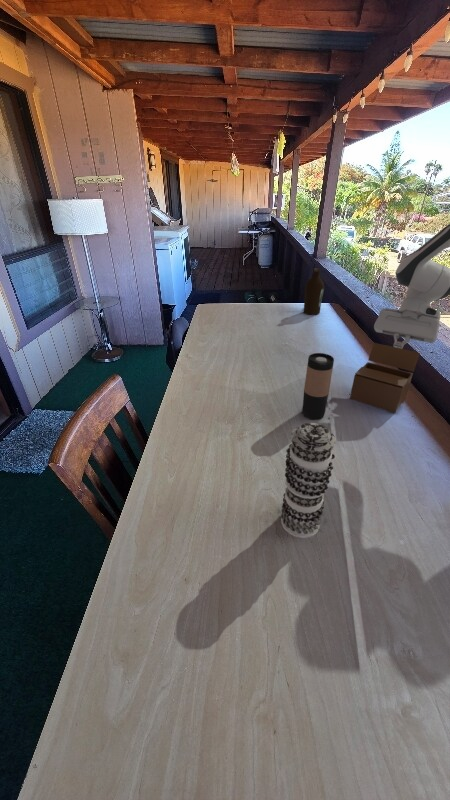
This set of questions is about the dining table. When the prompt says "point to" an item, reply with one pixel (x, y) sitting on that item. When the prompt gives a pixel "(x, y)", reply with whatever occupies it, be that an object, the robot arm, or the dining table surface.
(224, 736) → the dining table surface
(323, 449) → the decorative candle
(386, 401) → the carton
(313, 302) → the olive oil
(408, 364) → the flap
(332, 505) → the dining table surface
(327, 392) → the travel mug
